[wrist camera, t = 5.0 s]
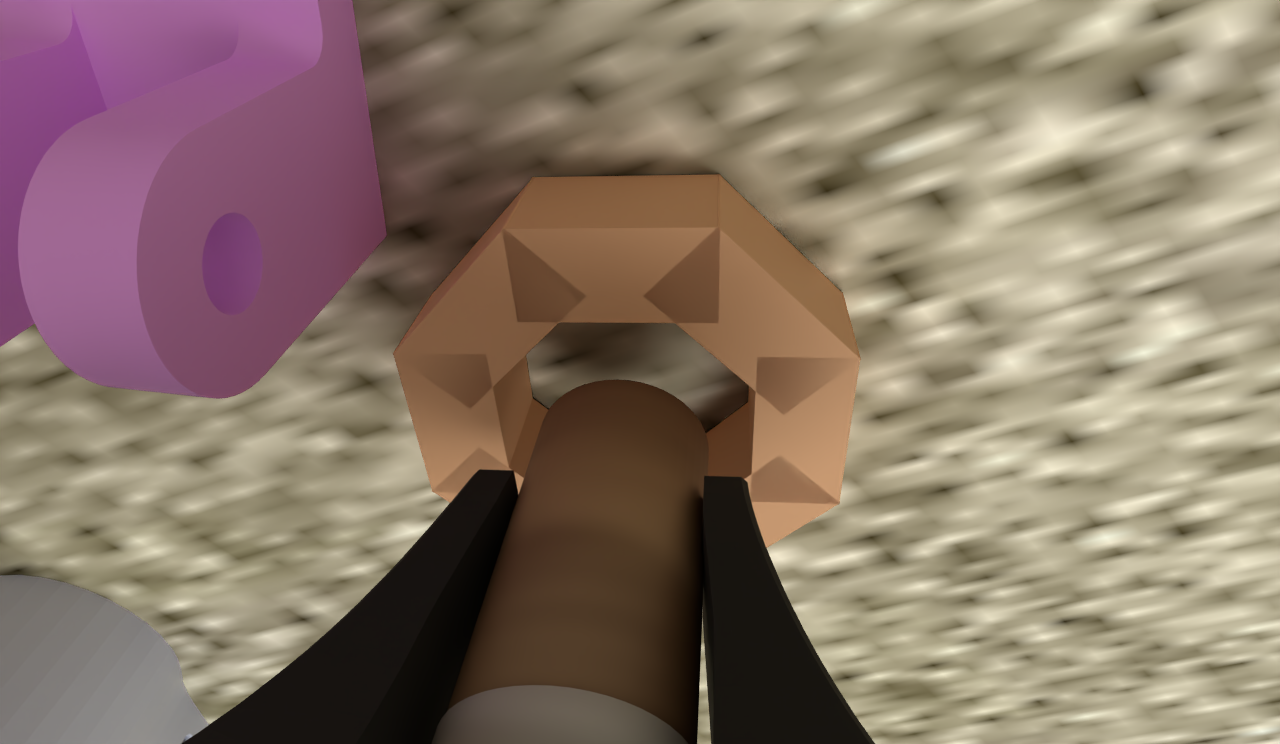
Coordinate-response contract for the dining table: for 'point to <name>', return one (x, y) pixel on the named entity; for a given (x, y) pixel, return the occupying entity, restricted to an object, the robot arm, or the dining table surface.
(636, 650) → the peg
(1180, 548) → the dining table surface
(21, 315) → the bracket
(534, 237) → the orange flat ring
